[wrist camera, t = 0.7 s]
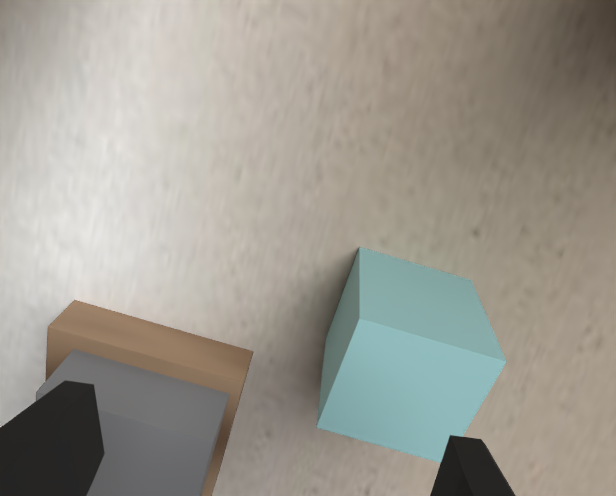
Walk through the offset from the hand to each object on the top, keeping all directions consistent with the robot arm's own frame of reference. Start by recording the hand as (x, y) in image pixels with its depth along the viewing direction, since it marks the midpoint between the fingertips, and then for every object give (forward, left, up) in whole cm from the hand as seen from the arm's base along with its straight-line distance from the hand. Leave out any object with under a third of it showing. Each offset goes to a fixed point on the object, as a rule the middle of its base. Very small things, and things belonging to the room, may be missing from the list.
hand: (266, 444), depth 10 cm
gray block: (-10, +5, -8) cm, 13 cm away
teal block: (-2, -4, -10) cm, 11 cm away
